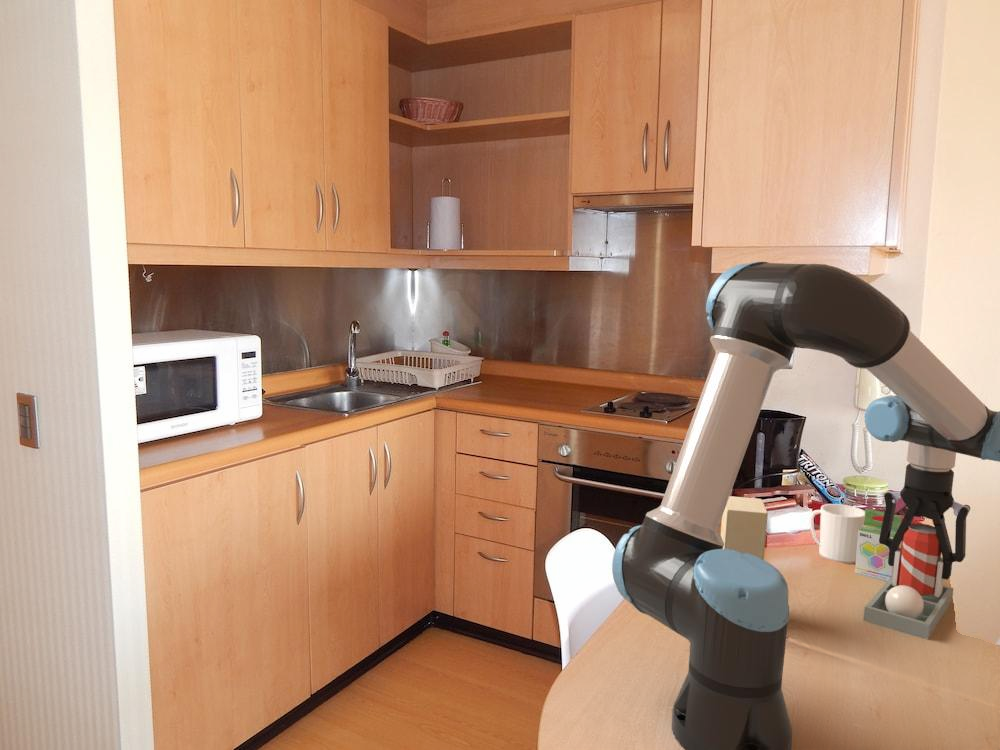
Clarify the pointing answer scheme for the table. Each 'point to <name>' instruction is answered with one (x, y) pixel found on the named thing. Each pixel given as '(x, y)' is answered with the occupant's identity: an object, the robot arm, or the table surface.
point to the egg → (904, 601)
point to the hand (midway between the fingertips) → (916, 588)
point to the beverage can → (919, 558)
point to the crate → (916, 627)
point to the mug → (838, 531)
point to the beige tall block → (744, 525)
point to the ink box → (874, 547)
